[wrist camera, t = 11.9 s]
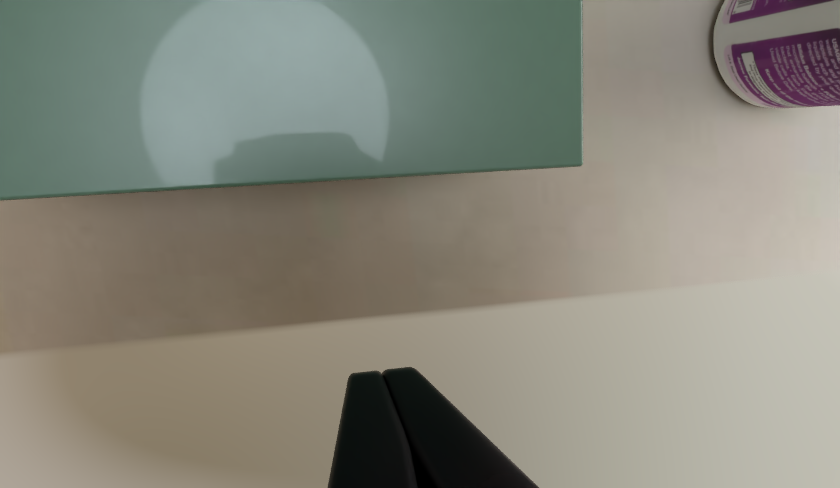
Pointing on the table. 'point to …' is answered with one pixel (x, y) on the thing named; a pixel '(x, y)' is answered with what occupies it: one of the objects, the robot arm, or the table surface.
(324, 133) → the bin lid
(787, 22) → the pill bottle
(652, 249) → the table surface
